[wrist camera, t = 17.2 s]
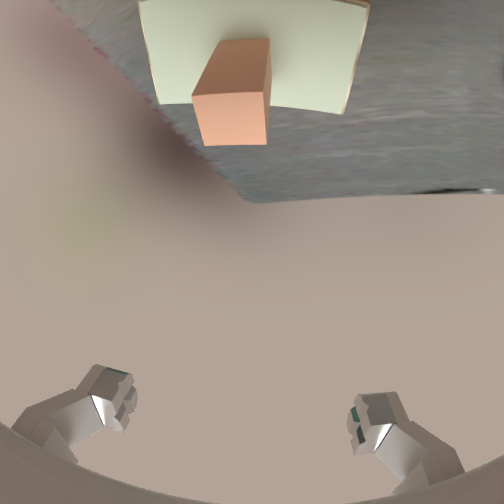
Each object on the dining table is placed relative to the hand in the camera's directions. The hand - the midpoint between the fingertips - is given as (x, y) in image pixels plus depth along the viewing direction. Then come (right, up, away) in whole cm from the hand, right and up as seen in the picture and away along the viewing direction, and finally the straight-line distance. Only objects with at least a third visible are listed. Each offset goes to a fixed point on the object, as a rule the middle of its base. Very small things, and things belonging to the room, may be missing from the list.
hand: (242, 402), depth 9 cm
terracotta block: (0, +21, +11) cm, 24 cm away
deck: (0, +25, +12) cm, 27 cm away
